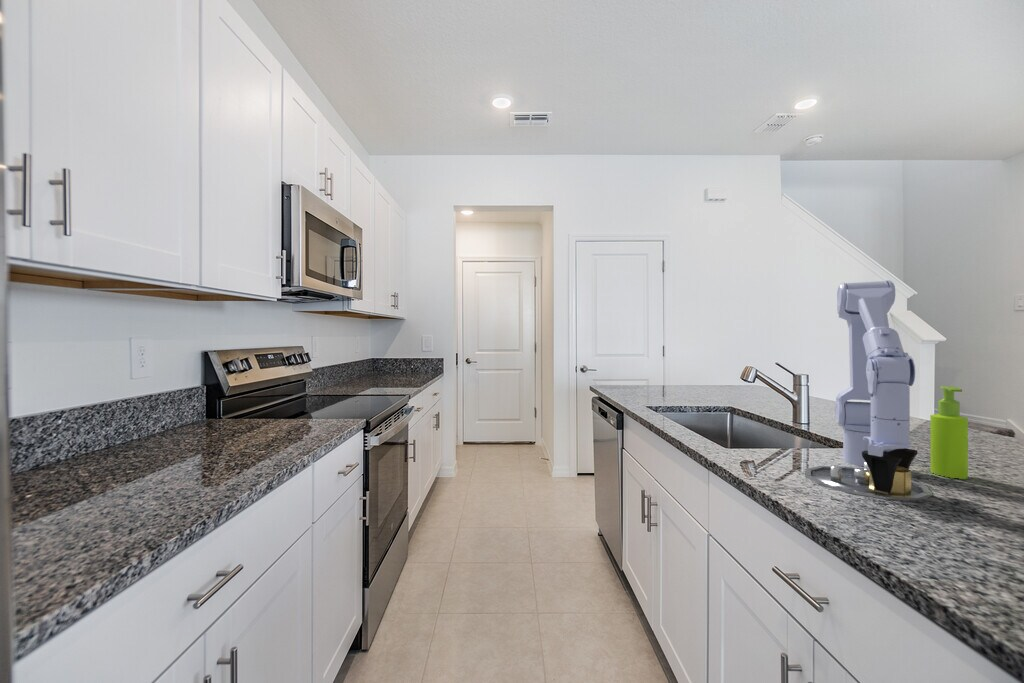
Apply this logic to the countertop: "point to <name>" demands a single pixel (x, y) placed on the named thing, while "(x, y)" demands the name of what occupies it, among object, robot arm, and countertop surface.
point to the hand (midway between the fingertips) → (889, 487)
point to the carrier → (860, 483)
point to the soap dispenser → (949, 437)
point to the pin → (836, 474)
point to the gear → (897, 483)
